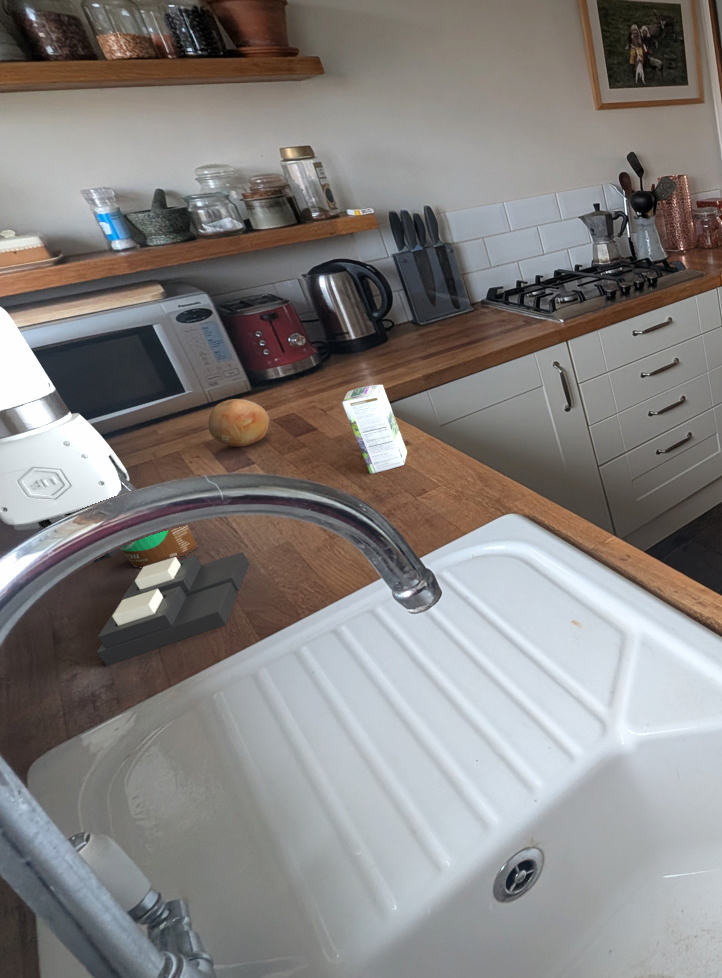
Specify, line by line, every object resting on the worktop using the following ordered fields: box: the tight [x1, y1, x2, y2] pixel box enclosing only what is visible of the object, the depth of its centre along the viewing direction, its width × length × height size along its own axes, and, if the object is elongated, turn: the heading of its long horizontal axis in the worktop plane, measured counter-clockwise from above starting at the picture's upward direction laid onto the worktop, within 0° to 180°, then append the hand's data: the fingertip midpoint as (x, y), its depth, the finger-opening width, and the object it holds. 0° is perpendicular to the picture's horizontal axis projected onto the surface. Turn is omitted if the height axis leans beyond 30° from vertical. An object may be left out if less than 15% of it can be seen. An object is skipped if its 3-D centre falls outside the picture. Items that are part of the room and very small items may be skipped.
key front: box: [112, 589, 164, 626], centre depth 84 cm, size 4×4×2 cm
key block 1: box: [121, 552, 250, 601], centre depth 92 cm, size 12×7×4 cm, turn 118°
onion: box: [208, 398, 270, 448], centre depth 139 cm, size 10×10×10 cm
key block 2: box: [96, 582, 239, 667], centre depth 86 cm, size 12×7×4 cm, turn 118°
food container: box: [119, 524, 199, 567], centre depth 100 cm, size 12×6×10 cm, turn 80°
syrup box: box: [341, 384, 408, 475], centre depth 121 cm, size 6×6×14 cm
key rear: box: [134, 557, 182, 590], centre depth 91 cm, size 4×4×2 cm
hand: (108, 553), depth 81 cm, fingers closed
